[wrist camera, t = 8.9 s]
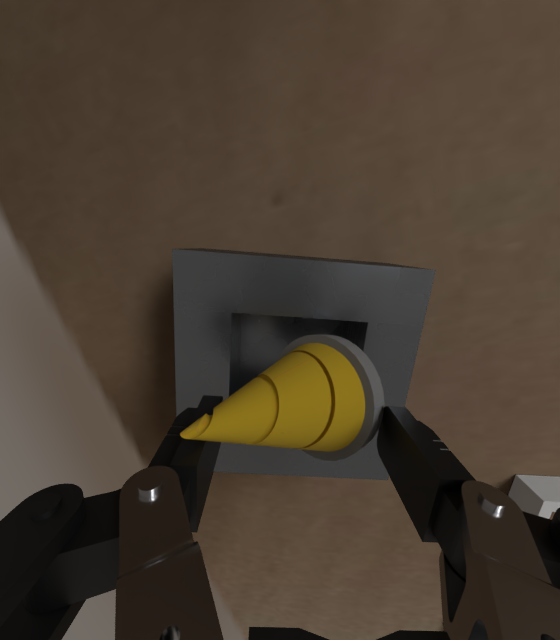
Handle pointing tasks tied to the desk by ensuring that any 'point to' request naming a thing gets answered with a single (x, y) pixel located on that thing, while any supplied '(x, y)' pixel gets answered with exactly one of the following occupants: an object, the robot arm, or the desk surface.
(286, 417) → the drill bit
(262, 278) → the bit holder
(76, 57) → the desk surface
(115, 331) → the desk surface
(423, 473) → the robot arm
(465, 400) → the desk surface
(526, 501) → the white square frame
